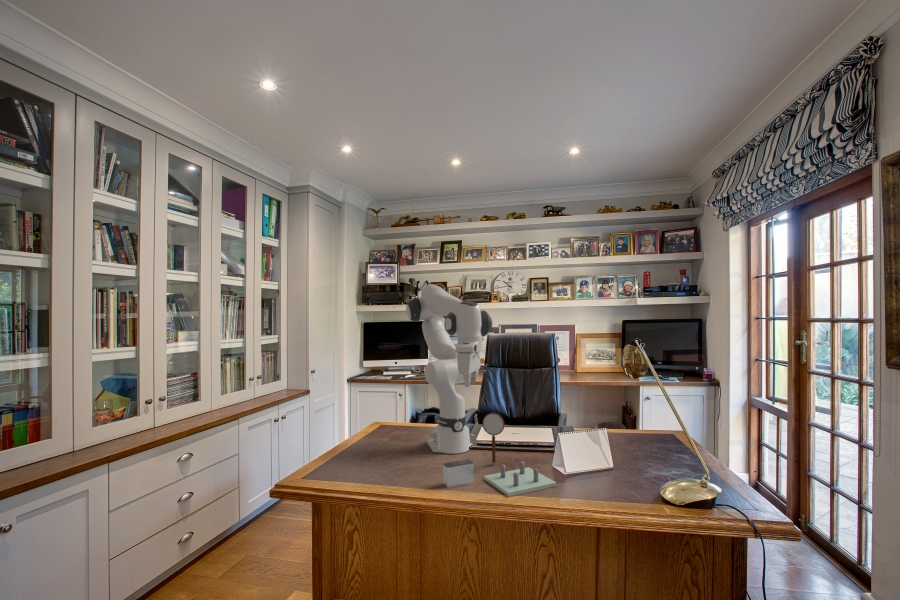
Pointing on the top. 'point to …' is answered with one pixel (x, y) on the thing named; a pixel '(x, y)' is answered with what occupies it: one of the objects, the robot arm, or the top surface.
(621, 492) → the top surface
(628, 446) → the top surface
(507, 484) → the pin tray
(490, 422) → the magnifying glass
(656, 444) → the top surface
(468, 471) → the block
